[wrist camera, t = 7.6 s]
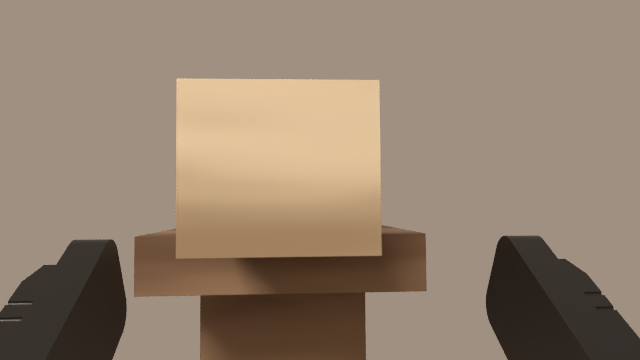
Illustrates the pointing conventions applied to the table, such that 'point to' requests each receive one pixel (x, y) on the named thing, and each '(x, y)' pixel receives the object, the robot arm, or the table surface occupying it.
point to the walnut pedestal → (281, 296)
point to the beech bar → (277, 168)
